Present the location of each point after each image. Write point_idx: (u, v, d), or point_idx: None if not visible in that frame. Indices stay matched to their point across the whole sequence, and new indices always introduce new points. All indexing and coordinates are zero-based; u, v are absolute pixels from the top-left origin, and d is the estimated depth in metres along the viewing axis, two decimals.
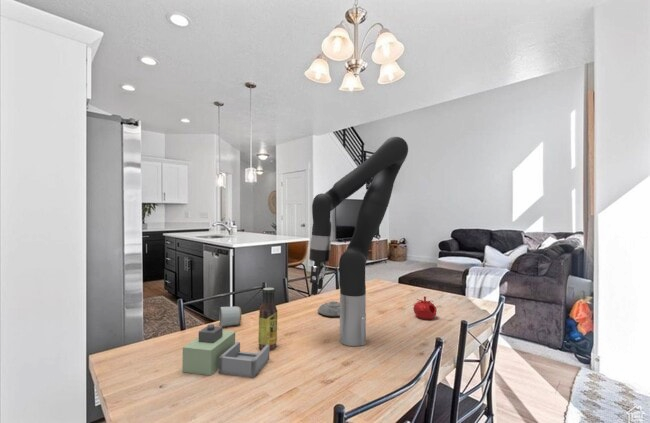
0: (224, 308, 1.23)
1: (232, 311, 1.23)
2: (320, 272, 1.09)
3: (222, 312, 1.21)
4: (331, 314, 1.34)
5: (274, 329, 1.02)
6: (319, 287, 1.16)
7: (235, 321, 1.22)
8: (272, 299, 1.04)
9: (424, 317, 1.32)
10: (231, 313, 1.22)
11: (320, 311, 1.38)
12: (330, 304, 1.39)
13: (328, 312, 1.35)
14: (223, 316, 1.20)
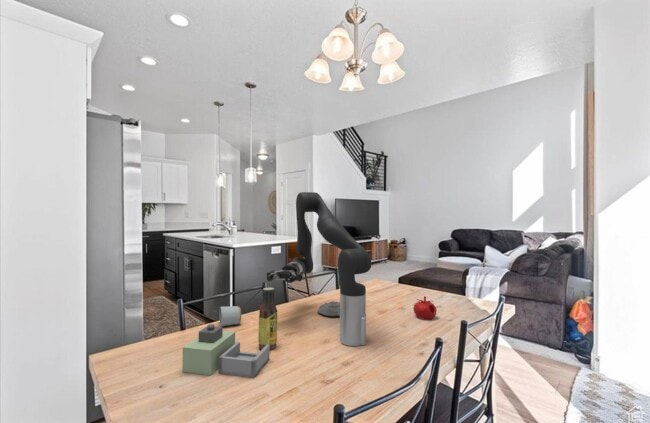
0: (224, 308, 1.23)
1: (232, 310, 1.23)
2: None
3: (222, 312, 1.21)
4: (331, 314, 1.34)
5: (274, 329, 1.02)
6: None
7: (235, 321, 1.23)
8: (272, 299, 1.04)
9: (424, 317, 1.32)
10: (231, 313, 1.22)
11: (320, 311, 1.38)
12: (330, 304, 1.39)
13: (328, 312, 1.35)
14: (223, 316, 1.20)
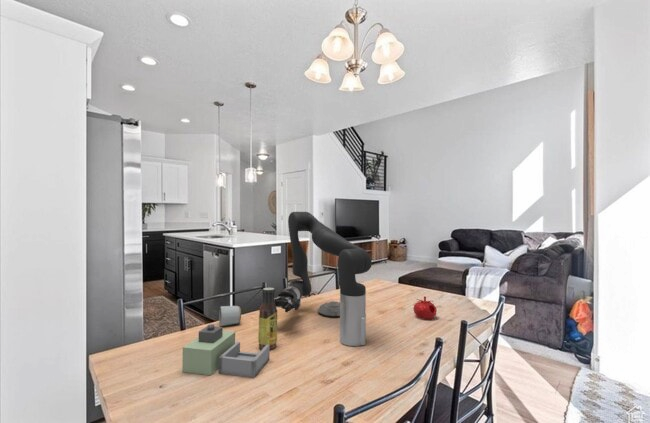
0: (224, 307, 1.23)
1: (232, 310, 1.23)
2: None
3: (222, 311, 1.21)
4: (331, 314, 1.34)
5: (274, 329, 1.02)
6: None
7: (235, 320, 1.23)
8: (272, 299, 1.04)
9: (424, 317, 1.32)
10: (231, 312, 1.23)
11: (320, 311, 1.38)
12: (330, 304, 1.39)
13: (328, 312, 1.35)
14: (223, 315, 1.21)
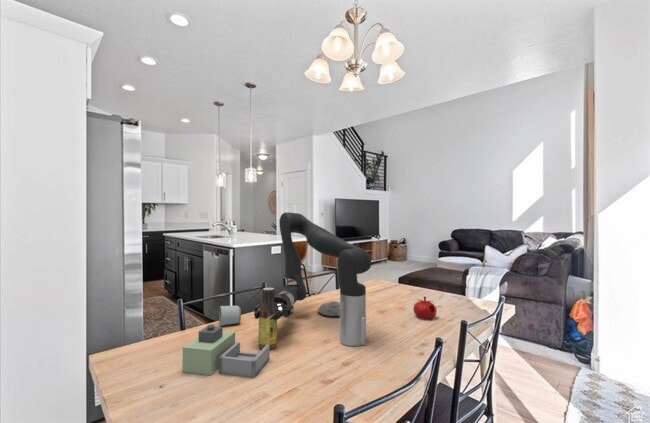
0: (224, 307, 1.24)
1: (232, 310, 1.24)
2: None
3: (222, 311, 1.22)
4: (331, 314, 1.34)
5: (274, 329, 1.02)
6: None
7: (235, 320, 1.23)
8: (272, 299, 1.04)
9: (424, 317, 1.32)
10: (231, 312, 1.23)
11: (320, 311, 1.38)
12: (330, 304, 1.39)
13: (328, 312, 1.35)
14: (223, 315, 1.21)
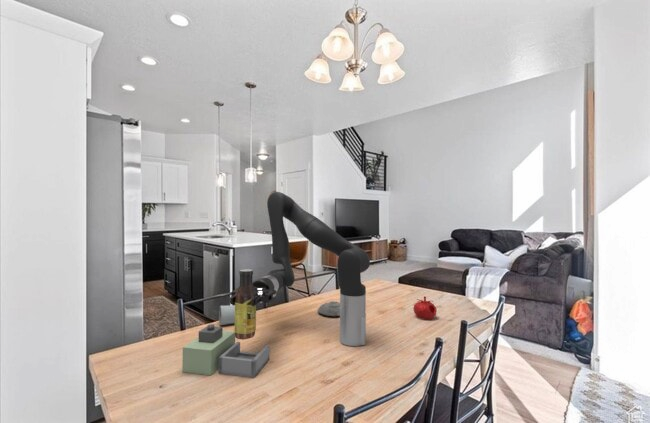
0: (224, 307, 1.24)
1: (231, 309, 1.24)
2: None
3: (222, 311, 1.22)
4: (331, 314, 1.34)
5: (252, 316, 0.90)
6: None
7: (234, 320, 1.24)
8: (250, 282, 0.91)
9: (424, 317, 1.32)
10: (231, 312, 1.24)
11: (320, 311, 1.38)
12: (330, 304, 1.39)
13: (328, 312, 1.35)
14: (223, 315, 1.22)
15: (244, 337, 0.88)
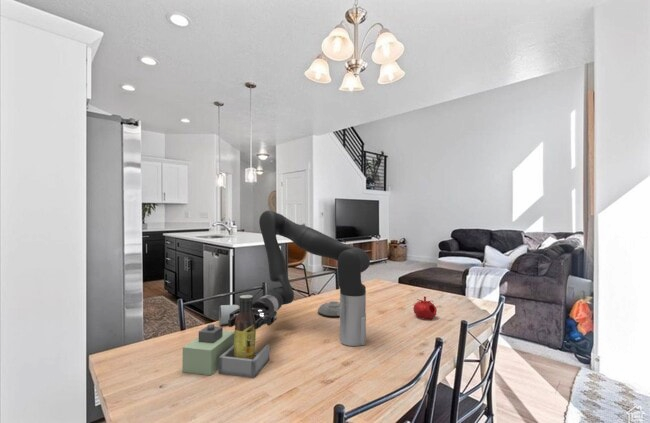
0: (224, 306, 1.25)
1: (231, 309, 1.25)
2: None
3: (222, 310, 1.23)
4: (331, 314, 1.34)
5: (251, 343, 0.89)
6: None
7: None
8: (250, 308, 0.91)
9: (424, 317, 1.32)
10: (231, 311, 1.24)
11: (320, 311, 1.38)
12: (330, 304, 1.39)
13: (328, 312, 1.35)
14: (223, 314, 1.22)
15: None
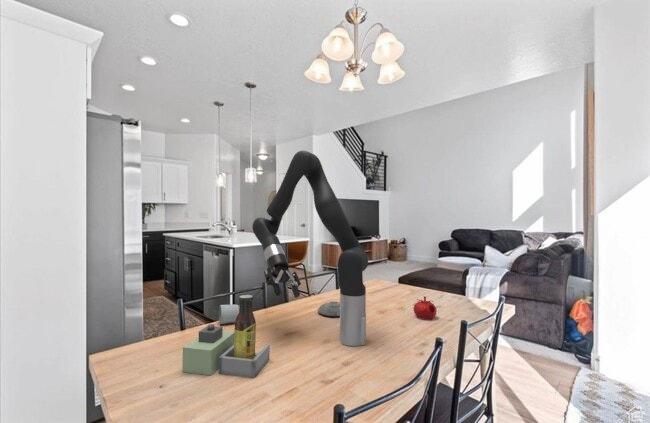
0: (224, 306, 1.25)
1: (231, 308, 1.25)
2: (278, 274, 1.08)
3: (222, 310, 1.23)
4: (331, 314, 1.34)
5: (251, 343, 0.89)
6: (296, 295, 1.09)
7: (234, 319, 1.25)
8: (250, 308, 0.91)
9: (424, 317, 1.32)
10: (231, 311, 1.25)
11: (320, 311, 1.38)
12: (330, 304, 1.39)
13: (328, 312, 1.35)
14: (223, 314, 1.23)
15: None
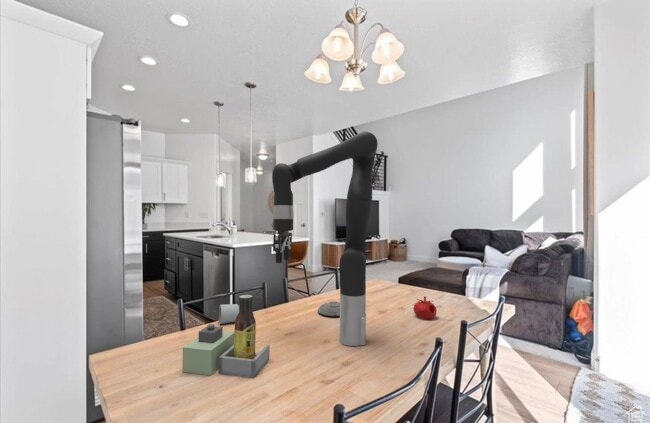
0: (223, 306, 1.26)
1: (231, 308, 1.26)
2: (284, 241, 1.10)
3: (222, 309, 1.24)
4: (331, 314, 1.34)
5: (251, 343, 0.89)
6: (286, 258, 1.17)
7: (234, 318, 1.25)
8: (249, 308, 0.91)
9: (424, 317, 1.32)
10: (230, 310, 1.25)
11: (320, 311, 1.38)
12: (330, 304, 1.39)
13: (328, 312, 1.35)
14: (223, 313, 1.23)
15: None
